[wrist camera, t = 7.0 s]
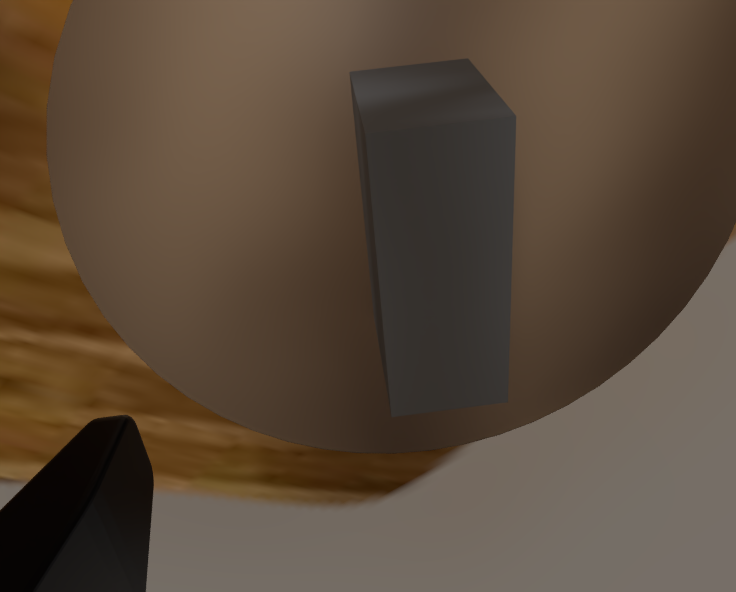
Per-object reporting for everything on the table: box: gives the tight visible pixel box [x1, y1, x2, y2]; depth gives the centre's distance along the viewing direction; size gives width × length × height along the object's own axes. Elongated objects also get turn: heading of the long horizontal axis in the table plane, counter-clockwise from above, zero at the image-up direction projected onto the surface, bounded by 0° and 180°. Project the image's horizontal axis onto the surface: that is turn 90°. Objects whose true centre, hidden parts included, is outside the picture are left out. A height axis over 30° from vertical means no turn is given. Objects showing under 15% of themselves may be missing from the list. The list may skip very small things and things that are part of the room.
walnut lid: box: [47, 0, 736, 453], centre depth 12 cm, size 13×13×4 cm
